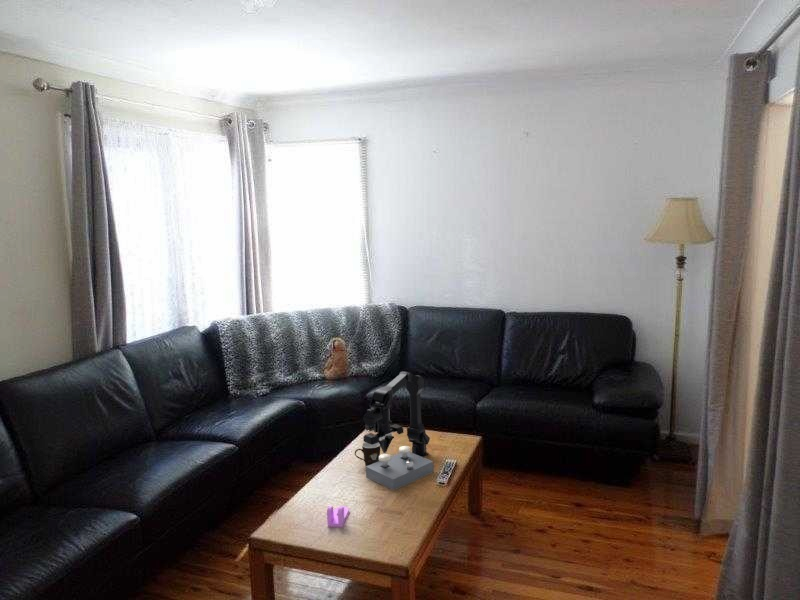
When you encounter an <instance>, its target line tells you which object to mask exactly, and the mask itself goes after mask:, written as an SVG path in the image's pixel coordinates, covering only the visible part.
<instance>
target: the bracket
mask: <svg viewBox="0 0 800 600" xmlns="http://www.w3.org/2000/svg"><path fill="white" fill-rule="evenodd" d="M349 513H350V509H349V507H348V506H345V505H342V506H341V505H340V506H337V507H336V508H334V506H332V505H330V506H327V509H326V520H327V521H326V522H327V527H332V528H333V527H335V528H343V527H344V524H345V522H346V520H347V518H348V516H349Z"/></svg>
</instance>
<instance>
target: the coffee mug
mask: <svg viewBox="0 0 800 600" xmlns="http://www.w3.org/2000/svg"><path fill="white" fill-rule="evenodd" d="M361 446H362V448H356V450H355V451H354V456H355V457H356V458H357V459H359V460H361V461H363V462H364V464H365V467H366V466H368V465H371V464H373V463H376V462H378V461H379V455H381V446H380V444H379V442H378V443H376V444H373V445H371V444H369V443H366V442H364V441H363V442H362V443H361ZM358 451H361V453H362V455H363V458H361V457H359V456H358V455H357V452H358Z"/></svg>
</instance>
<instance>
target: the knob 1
mask: <svg viewBox="0 0 800 600" xmlns="http://www.w3.org/2000/svg"><path fill="white" fill-rule="evenodd" d="M391 456H392V455H391V454H390V453H389V454H387V453H383V454H382V453H381V454H380V455H379V461H381V462H382V466H383V467H387V466H388V461H390V460H391Z"/></svg>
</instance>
